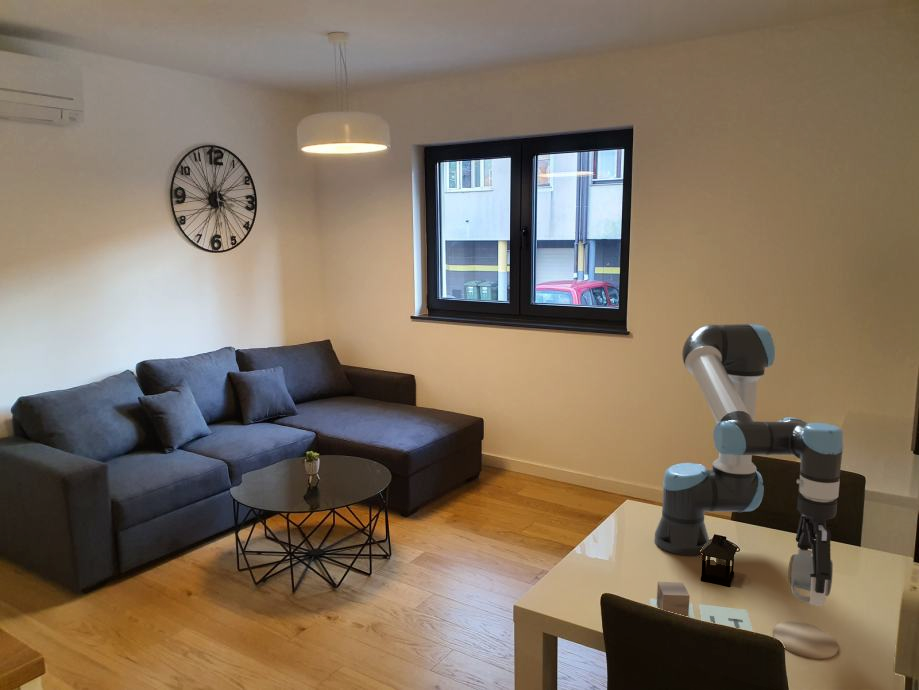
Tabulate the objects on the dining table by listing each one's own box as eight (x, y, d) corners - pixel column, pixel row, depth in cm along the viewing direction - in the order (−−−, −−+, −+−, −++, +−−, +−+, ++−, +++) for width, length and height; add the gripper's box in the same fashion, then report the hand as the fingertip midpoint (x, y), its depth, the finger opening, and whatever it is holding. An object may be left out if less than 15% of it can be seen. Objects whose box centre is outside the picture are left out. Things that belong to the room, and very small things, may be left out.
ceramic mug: (791, 576, 155) (793, 545, 153) (832, 587, 150) (834, 554, 149) (783, 597, 146) (785, 564, 145) (825, 609, 142) (828, 575, 140)
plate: (649, 598, 168) (649, 598, 168) (692, 603, 165) (692, 603, 165) (651, 621, 158) (651, 620, 158) (696, 626, 156) (696, 626, 156)
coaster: (767, 620, 158) (767, 618, 158) (828, 628, 155) (828, 625, 155) (779, 654, 146) (779, 651, 146) (846, 662, 143) (846, 660, 143)
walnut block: (656, 604, 165) (657, 581, 164) (681, 605, 164) (682, 582, 163) (662, 618, 159) (663, 594, 158) (688, 619, 159) (689, 595, 158)
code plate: (698, 604, 165) (698, 603, 165) (746, 610, 162) (746, 609, 162) (704, 637, 152) (704, 637, 152) (757, 644, 149) (757, 643, 149)
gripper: (786, 475, 157) (779, 563, 160) (813, 516, 134) (804, 617, 138) (821, 478, 155) (813, 566, 159) (854, 519, 133) (845, 622, 136)
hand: (809, 590), depth 148 cm, fingers closed on ceramic mug, 11 cm apart
